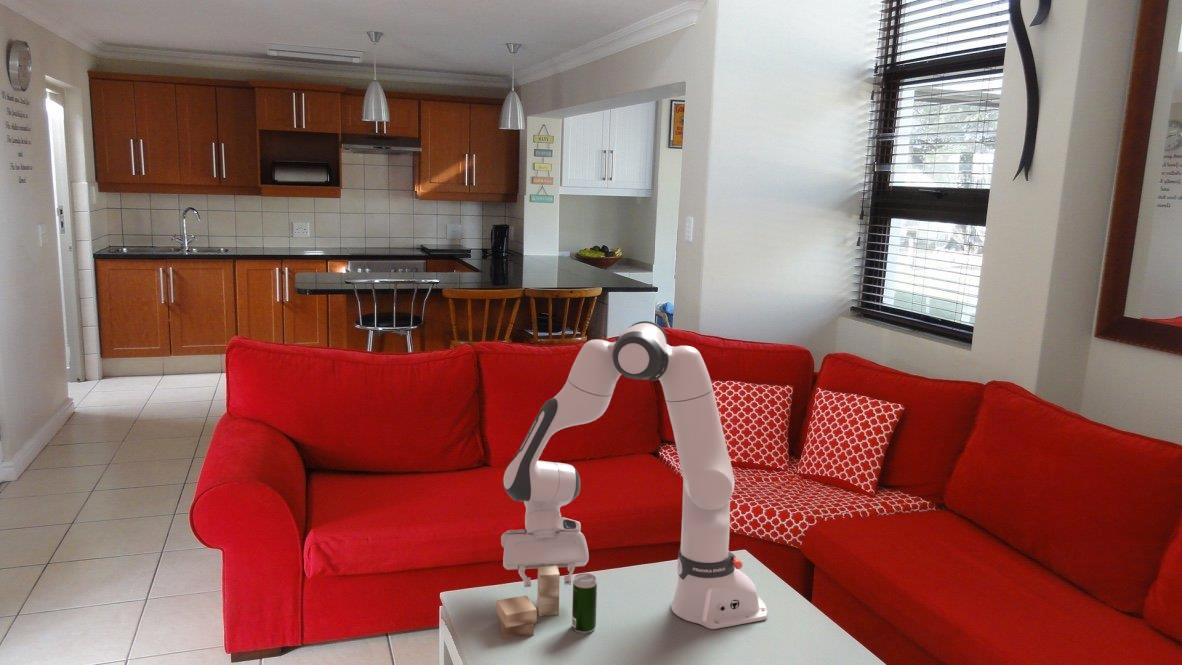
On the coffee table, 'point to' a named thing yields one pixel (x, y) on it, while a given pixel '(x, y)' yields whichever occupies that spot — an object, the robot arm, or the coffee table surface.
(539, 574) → the tan block
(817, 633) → the coffee table surface
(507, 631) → the light brown flat block
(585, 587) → the beer can
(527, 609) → the oak block
